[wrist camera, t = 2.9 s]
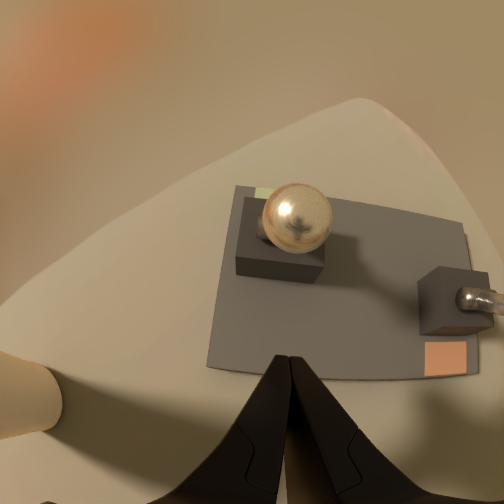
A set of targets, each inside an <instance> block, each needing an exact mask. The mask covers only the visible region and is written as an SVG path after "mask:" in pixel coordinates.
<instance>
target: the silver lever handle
mask: <svg viewBox="0 0 504 504" xmlns="http://www.w3.org/2000/svg"><path fill="white" fill-rule="evenodd" d="M455 302H456V306H457V308H458V309H461V310H483V311H486V312H490V313H494V314H497V315H501V316H504V294H498V293H497V292H496V291H495V290H491V289H480V288H470V287H460V288H459V289H458V291H457V293H456V297H455Z"/></svg>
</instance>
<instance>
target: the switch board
mask: <svg viewBox="0 0 504 504" xmlns="http://www.w3.org/2000/svg"><path fill="white" fill-rule="evenodd" d="M274 191H276V189H268V188H260V187H256V188H255V187H246V186H237V185H236V188H235V193H234V199H233V204H232V210H231V215H230V221H229V227H228V232H227V238H226V244H225V250H224V255H223V261H222V267H221V273H220V279H219V286H218V292H217V298H216V304H215V311H214V317H213V323H212V330H211V337H210V343H209V350H208V357H207V364H206V366H207V367H210V368H216V369H223V370H230V371H238V372H246V373H255V374H264V373H265V371H266V369H267V368H268V366H269V364H270V363H271V361H272V359H273V357H274V356H275V355H287V356H288V357H289V356H300V357H303V358H304V360H305V361H306V362H307V363H308V365H309V366H310V367H311V368H312V370H313V371H314V372H315V374H316V375H317V376H318V377H319V379H339V380H399V379H421V378H437V377H449V376H459V375H468V374H474V373H478V342H477V332H480V331H483V330H486V329H488V328H491V327H494V320H493V313H490V312H486V311H483V310H461V309H458V308H457V306H456V302H455V297H456V293H457V291H458V289H459V288H460V287H470V288H480V289H490V284H489V277H488V273H487V272H480V271H473V270H471V267H470V261H469V255H468V250H467V244H466V239H465V234H464V230H463V225H462V223H459V222H455V221H451V220H446V219H442V218H437V217H433V216H428V215H423V214H418V213H413V212H409V211H403V210H398V209H393V208H388V207H383V206H377V205H371V204H366V203H360V202H354V201H348V200H342V199H336V198H329V197H326V198H327V200H328V202H329V203H330V206H331V209H332V213H333V224H332V228H331V231H330V234H329V236H328V237H327V239H326V240H325V241H324V243H323V244H322V245H320V246H319V247H318V248H316V249H314V250H313V251H310V252H307V253H302V254H293V253H289V252H286V251H283V250H281V249H279V248H278V247H276V246H275V245H274V244H273V243H272V242H271V241H270V240H268V239H259V238H256V231H257V222H258V214H259V213H263V209H264V206H265V203H266V201H267V200H268V198H269V197H270V195H271V194H272V193H273V192H274Z"/></svg>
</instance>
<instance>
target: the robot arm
mask: <svg viewBox="0 0 504 504" xmlns="http://www.w3.org/2000/svg"><path fill="white" fill-rule="evenodd" d="M283 455H284V463H285V476H286V489H287V502H288V504H504V500H502V501H496V502H486V501H476V500H468V499H461V498H455V497H448V496H443V495H437V494H433V493H430V492H427V491H425V490H423V489H421V488H420V487H418V486H417V485H416V484H415V483H413V482H412V481H411V480H410V479H409V478H408V477H407V476H406V475H404V474H403V473H402V472H401V471H400V470H399V469H398V468H397V467H396V466H395V465H393V464H392V463H391V462H390V461H389V460H388V459H387V458H386V457H385V456H384V455H383V454H382V453H381V452H380V451H379V450H378V449H377V448H376V447H375V446H374V445H373V444H372V442H371V441H370V440H369V439H368V438H367V437H366V435H365V434H364V433H363V432H362V431H361V429H358V426H357V425H356V423H355V422H354V421H353V420H352V419H351V417H350V416H349V415H348V414H347V412H346V411H345V410H344V409H343V407H342V406H341V405H340V404H339V402H338V401H337V400H336V399H335V397H334V396H333V395H332V394H331V392H330V391H329V390H328V389H327V387H326V386H325V385H324V384H323V382H322V381H321V380H320V379H319V377H318V376H317V375H316V374H315V372H314V371H313V370H312V368H311V367H310V366H309V365H308V363H307V362H306V361H305V360H304V358H303V357H300V356H289V357H288V356H287V355H275V356H274V357H273V359H272V361H271V363H270V364H269V366H268V368H267V369H266V371H265V373H264V374H263V376H262V378H261V379H260V381H259V383H258V384H257V386H256V388H255V389H254V391H253V393H252V394H251V396H250V398H249V399H248V401H247V402H246V404H245V406H244V407H243V409H242V410H241V412H240V414H239V415H238V417H237V418H236V420H235V421H234V424H232V426H231V427H230V429H229V430H228V432H227V433H226V435H225V436H224V437H223V439H222V440H221V442H220V443H219V444H218V445H217V447H216V448H215V449H214V450H213V451H212V452H211V453H210V455H209V456H208V457H207V458H206V459H205V460H204V461H203V462H202V463H201V464H200V465H199V466H198V467H197V468H196V469H195V470H194V471H193V472H192V473H191V474H190V475H189V476H188V477H187V478H186V479H185V480H184V481H183V482H182V483H181V484H179V485H178V486H177V487H176V488H175V489H174V490H172V491H171V492H170V493H168V494H167V495H165V496H163V497H161V498H159V499H157V500H154V501H152V502H150V503H147V504H276V500H277V494H278V488H279V482H280V475H281V468H282V462H283ZM41 504H56V503H53V502H49V501H46V502H43V503H41Z"/></svg>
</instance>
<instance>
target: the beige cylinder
mask: <svg viewBox="0 0 504 504" xmlns="http://www.w3.org/2000/svg"><path fill="white" fill-rule="evenodd" d="M61 412H62V395H61V391H60V388H59V385H58V383H57V381H56V379H55V377H54V376H53V375H52V373H51V372H50V371H49V370H48V369H47V368H45V367H44V366H42V365H40V364H38V363H35V362H31V361H27V360H23V359H20V358H18V357H15V356H12V355H10V354H7V353H5V352H2V351H0V440H1V439H6V438H10V437H15V436H19V435H23V434H28V433H32V432H39V431H45V430H48V429H50V428H52V427H53V426H54V425H55V424H56V423H57V422H58V420H59V418H60V416H61Z"/></svg>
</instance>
